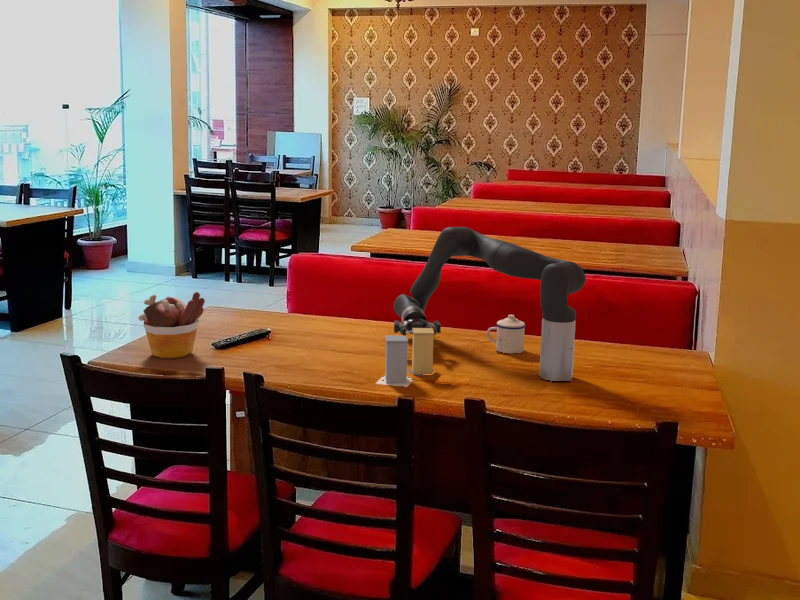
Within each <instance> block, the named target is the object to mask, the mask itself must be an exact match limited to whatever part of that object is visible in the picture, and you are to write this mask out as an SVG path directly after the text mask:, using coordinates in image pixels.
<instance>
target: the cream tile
mask: <svg viewBox="0 0 800 600" xmlns="http://www.w3.org/2000/svg"><path fill="white" fill-rule="evenodd" d="M383 376H384V375H383ZM383 376H381V378H379V379H378V380H377V381H376V383H375V385H382V386H383V385H384V386H393V387H401V386H403V387H402V388H408V387H409V386H410V384H412V382H413V381H414V380H411V379H412V378H408V377H409V376H407V380H406V384H386V379H385V376H384V377H383ZM382 380H384V381H382ZM407 381H410V382H407Z"/></svg>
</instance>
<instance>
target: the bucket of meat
mask: <svg viewBox="0 0 800 600" xmlns="http://www.w3.org/2000/svg"><path fill="white" fill-rule="evenodd" d="M156 299H157V295H156V294H152V295H150V296H149V298H147V299H145V300H144V301H143V303H144V305H146V308H144V309H143V313H140V315H139V316H138V317H137V319H138V320H139V321H140V322H143V328H144V330H145V333H146V338H147V340H148V341H147V342H148V345H149V347H150V348H149V349H150V351H151V354H152V355H153V357H156V358H158V357H159V359H161V360H162V359H163V360H164V359H166V360H168V359H169V360H170V359H172V360H173V359H174V358H175V359H180V357H181V358H185V357H187V356H188V354H189V355H190V354H191V353H192V352H193V350H194V346H195V342H196V335H197V330H198V325H199V318H200V317H201V316H202V315H203V313H204V311H205V309H204V305H205V302H206V301H205V300H206V299H205V298H204V297H201V294H200V292H198V291H195V292H193V295H192V298H191V300H189V301H188V302H187V304H186V303H185V302H184V301H182V300H181V299H180V298H177V297H173V296H166V297H165V298H164V299H160V300H158V301H156ZM175 359H174V360H175Z"/></svg>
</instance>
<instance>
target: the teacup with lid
mask: <svg viewBox="0 0 800 600" xmlns="http://www.w3.org/2000/svg"><path fill="white" fill-rule="evenodd" d="M525 328H526V323H525V322H524V321H521V320H519V319H518V318H516V317H515V315H514V314H508V315H507V317H505V318H504V319H500V320H498V321H497V322H496V326H492V327H488V329H487V330H486V337H487V339H488V340H489V341H490V342H491V343H493V344H496V345H495V350H496V351H497V352H498V351H500V352H504V353H519V354H521V352H522V353H523V352H524V343H525ZM492 330H495V331H496V339H493V338H492V337H491V335H490V331H492ZM500 352H499V353H500ZM504 353H503V354H504Z"/></svg>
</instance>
